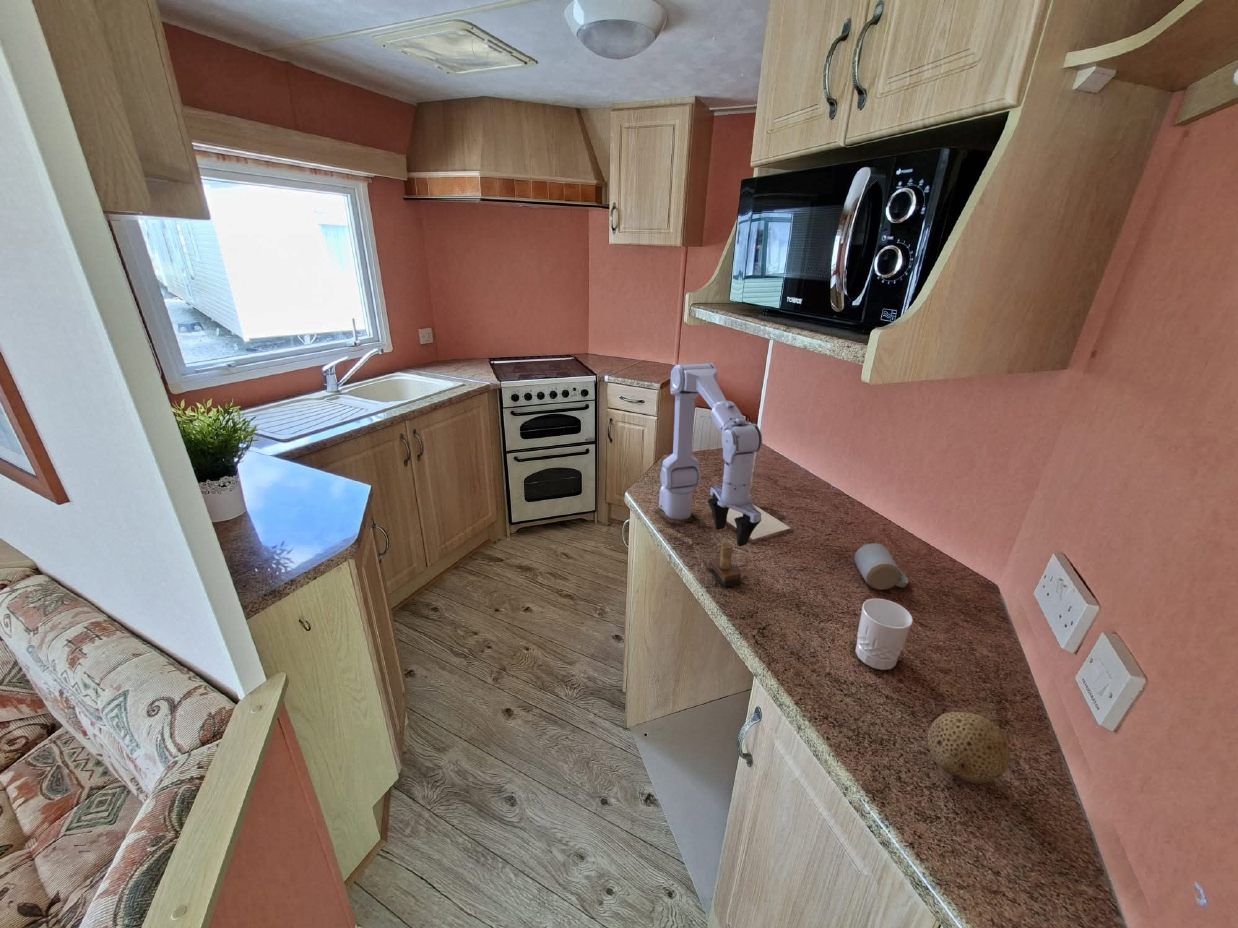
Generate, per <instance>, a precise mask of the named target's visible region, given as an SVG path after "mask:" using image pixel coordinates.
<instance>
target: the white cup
mask: <svg viewBox="0 0 1238 928" xmlns="http://www.w3.org/2000/svg"><path fill="white" fill-rule="evenodd" d="M913 622H914V620H913V616H912V614H911V613H910V612H909V611H908V610H907V608H905V607H904V606H902V605H900V604H899V603H897V602H894V601H891V600H889V599H885V598H869V599H867V600H865V601H864V602H863V604H862V606H861V611H860V618H859V623H858V629H857V635H856V645H855V654H856V656H857V658H858V659H859V660H860V661H861V662H862V663H864V664H865V665H867V666H868V667H871V668H873V669H876V670H881V671H886V670H892V669H893V668H894V667H896V665H897V662H898V659H899V657H900V656H901V653H902V651H903V648H904V646H905V644H906V641H907V638H908V635H909V633H910V631H911V627H912V625H913Z"/></svg>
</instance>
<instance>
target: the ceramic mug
mask: <svg viewBox="0 0 1238 928" xmlns="http://www.w3.org/2000/svg"><path fill="white" fill-rule="evenodd" d="M853 560H854V564H855V566H856V567H857V570H858V571H859V573H860V574H861V576H862V578H863V580H864V581H865V583H866V584H867V585H868V586H869V587H871V588H872V589H875V590H878V591H879V590H880V591H883V590H884V591H885V590H888V589H892V588H893V587H895V586H896V587H899V588H905V587H906V586H907V585H908V584H909V579H908V577H907V576H906V575H905V574H904V572H902V571H901V570H900V569H899V566H898V565H897V564H896V561H894V558H893V557H892V555H891V553H890V551H889V549H888V548H886V546H884V545H882V544H880V543H876V542H875V543H866V544H864V545H863V546H861V547H860V548H858V549H857V551H856V552H855V554H854V559H853Z"/></svg>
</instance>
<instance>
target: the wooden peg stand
mask: <svg viewBox="0 0 1238 928" xmlns="http://www.w3.org/2000/svg"><path fill="white" fill-rule="evenodd" d="M733 545H734V544H732V543H730V542H722V543H721V547H720V548H721V549H720V556H719V557H717V558H712V559H709V563H708V566H709V567H710V569H711V570H709V571H710V573H711V574H712V575H713V576H714V577H715V579H716V580H717V581H718V582H719V583H720V584H721V586H723V588H724V587H730V586H734V585H739V584H740V583H741V576H742V575H741V574H742V573H741V572H740V571H739V570H738V569H737V568H736V567H735V566H734V565H733V564H732V555H733V547H734V546H733Z"/></svg>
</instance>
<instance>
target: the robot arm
mask: <svg viewBox="0 0 1238 928" xmlns="http://www.w3.org/2000/svg"><path fill="white" fill-rule="evenodd" d="M718 372H719V371H718V370H717V368H716V365H714V363H712V362H707V363H696V364H695V363H694V364H692V363H691V364H676V365H675V366H674V367H673V368H672V369H671V372H670V386H669V387H670V388H669V389H670V395H672V396H674V397H675V398H674V399H675V400H674V421H673V447H672V453H671V454H670V455H668V456H667V457H666V458H665V459H663V460H662V464H661V469H660V475H659V478H660V483H661V487H660V489H659V501H658V502H659V503H658V508H659V509H660V510H662V512H664V514H665V516H666V517H668V518H670V519H672V520H681V521H682V520H687V519H689V518H690V517H691V516H692V508H693V494H694V493H693V492H694V491H696V487H698V486H699V485H700V484H701V483H700V482H701V480H702V473H701V466H700V463H701V462H700V461H699V460H698V459H697V457H695V456H694V455H693V441H694V440H693V439H694V422H695V421H694V420H695V405H696V403H695V402H696V399H697V397H699V396H701V398H703V400H704V401H705V402H706V404H707V405H708V406H709V407H710V409H711V412H710V418H711V420H712V421H713V423H714V425H715V426H716V428H717V430H718V431H719V433H720V434H721V447H722V459H723V460H724V466H723V475H722V476H723V477H722V478H723V479H722V485H721V486H719V485H714V486H710V490H709V491H710V492H709V493H710V494H709V495H710V496H711V498H709V499H707V505H708V506H709V508H710V510H711V513H712V517H713V520H714V521H713V522H714V528H715V530H716V531H717V530H722V529H725V528H726V524H727V521H726V520H727V514H728V510H729V508H731V509H733V510H736V511H738V512H741V513H742V514H743V517H742V516H741V517H737V518H735V519H734V520H735V523H736V526H737V528H736V546H738V547H743V546H746V545H748V541H749V539H750V535H751V533H752V532H753V530H754V529H755V527H756V526H757V525H758V524H759V523H760V522H761V512H759V511H758V510H757V509H756V508H755V506H756V505H755V506H754V503H752V501H751V500H750V493H751V484H752V477H753V468H754V460H755V453H758V452H759V451H760V450H761V448H762V445H763V434H762V432H761V430H760V428H759V426H758V425H757V424H756V423H751V421H747V420H746V418H745V417H744V416H743V414H742V412H741V411H740V410H739V408H738V406H737V405H736V404H735V402H733V401H732V400H727V398H726V397H725V395H724V393H723V392H722V389H721V388H720V386H719V383H718V381H719V373H718Z"/></svg>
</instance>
